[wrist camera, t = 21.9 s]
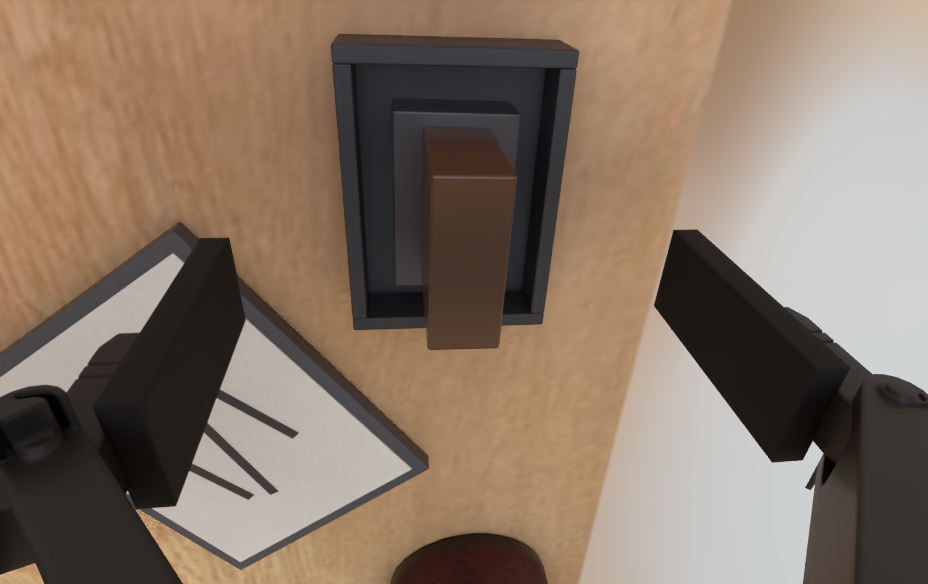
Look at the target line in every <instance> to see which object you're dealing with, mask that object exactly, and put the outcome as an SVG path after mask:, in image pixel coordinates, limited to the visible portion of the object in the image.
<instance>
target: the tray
mask: <svg viewBox="0 0 928 584" xmlns="http://www.w3.org/2000/svg"><path fill="white" fill-rule="evenodd" d="M331 52H332V62H333V78H334V90H335V103H336V115H337V128H338V140H339V153H340V165H341V178H342V190H343V203H344V215H345V228H346V240H347V252H348V265H349V277H350V290H351V302H352V315H353V327H354V330H372V329H405V328H426V325H425V314H424V302H423V290H422V285H414V286H396V285H395V244H394V173H393V99H394V98H404V99H437V100H470V101H504V102H511V103H512V104H513V106H514V107H515V108H516V109H517V111H518V112H519V113H520V115H521V120H520V129H519V139H518V149H517V158H516V168H515V175H516V177H517V182H516V191H515V201H514V210H513V220H512V229H511V238H510V248H509V257H508V267H507V276H506V285H505V295H504V304H503V314H502V323H501V325H534V324H542V322H543V315H544V314H543V313H544V308H545V300H546V293H547V285H548V278H549V271H550V263H551V256H552V248H553V241H554V234H555V226H556V219H557V212H558V204H559V197H560V189H561V182H562V175H563V167H564V160H565V153H566V145H567V138H568V130H569V123H570V116H571V108H572V101H573V93H574V86H575V79H576V68H577V64H578V56H579V51H578V50H577V49H575V48H573V47H571V46H569V45H567V44H565V43H563V42H562V41H560V40H539V39H503V38H467V37H431V36H395V35H359V34H338V35H337V37H336V38H335V40H334V41H333V43H332V44H331Z"/></svg>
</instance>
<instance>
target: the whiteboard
mask: <svg viewBox="0 0 928 584" xmlns="http://www.w3.org/2000/svg"><path fill="white" fill-rule="evenodd" d="M198 241H199V240H198V239H197V238H196V237H195V236H194V235H193V234H192V233H191V232H190V231H189V230H188V229H187V228H185V227H184V226H183V225H182V224H181V223H177V224H176V225H174V226H173V227H172V228H170V229H169V230H168V231H166V232H165V233H163V234H162V235H161V236H159V237H158V238H157V239H155V240H154V241H153V242H151V243H150V244H148V245H147V246H146V247H144V248H143V249H142V250H140V251H139V252H138V253H136V254H135V255H133V256H132V257H131V258H129V259H128V260H127V261H125V262H124V263H123V264H121V265H120V266H119V267H117V268H116V269H114V270H113V271H112V272H110V273H109V274H108V275H106V276H105V277H104V278H102V279H101V280H99V281H98V282H97V283H95V284H94V285H93V286H91V287H90V288H89V289H87V290H86V291H84V292H83V293H82V294H80V295H79V296H78V297H76V298H75V299H74V300H72V301H71V302H69V303H68V304H67V305H65V306H64V307H63V308H61V309H60V310H59V311H57V312H56V313H54V314H53V315H52V316H50V317H49V318H48V319H46V320H45V321H44V322H42V323H41V324H39V325H38V326H37V327H35V328H34V329H33V330H31V331H30V332H29V333H27V334H26V335H24V336H23V337H22V338H20V339H19V340H18V341H16V342H15V343H14V344H12V345H11V346H9V347H8V348H7V349H5V350H4V351H3V352H1V353H0V397H1V396H4V395H6V394H8V393H10V392H12V391H15V390H18V389H22V388H25V387H28V386H37V385H52V386H58V387H60V388H61V389H63V390H64V391H65V392H66V393H67V391H68V390H69V388H70V387H71V386H72V384H73V383H74V381H75V380H76V379H78V378H79V377H78V376H79V374H80V373H81V372H82V370H83V369H84V367H85V366H88V362H89V361H90V359H91V358H92V356H93V355H94V354H95V352H96V351H97V349H98V348H99V347H100V346H102V345H103V344H104V343H106V342H107V341H109V340H110V339H111V338H113V337H114V336H115V335H117V334H118V333H140V332H141V330H142V328H143V327H144V325H145V324H146V322H147V321H148V319H149V318H150V316H151V314H152V313H153V311H154V310H155V308H156V307H157V305H158V303H159V302H160V300H161V299H162V297H163V296H164V294H165V292H166V291H167V289H168V288H169V286H170V285H171V283H172V282H173V280H174V278H175V277H176V275H177V274H178V272H179V271H180V269H181V267H182V266H183V264H184V263H185V261H186V260H187V258H188V257H189V255H190V253H191V252H192V250H193V249H194V247H195V246H196V244H197V242H198ZM237 279H238V284H239V289H240V294H241V299H242V304H243V309H244V314H245V318H246V321H245V324H244V326H243V329H242V332H241V334H240V337H239V340H238V342H237V345H236V348H235V350H234V353H233V356H232V358H231V361H230V364H229V366H228V369H227V372H226V374H225V377H224V380H223V382H222V385H221V388H220V390H219V393H218V396H217V398H216V401H215V404H214V406H213V409H212V412H211V414H210V417H209V420H208V422H207V425H206V428H205V430H204V433H203V436H202V438H201V441H200V444H199V446H198V449H197V452H196V454H195V457H194V460H193V462H192V465H191V468H190V470H189V473H188V476H187V478H186V481H185V484H184V486H183V489H182V492H181V494H180V497H179V500H178V502H177V505H176V506H175V507H161V508H148V509H140V510H141V511H143V512H145V513H146V514H148V515H150V516H151V517H153V518H155V519H156V520H158V521H160V522H161V523H163V524H165V525H166V526H168V527H170V528H171V529H173V530H175V531H176V532H178V533H180V534H181V535H183V536H185V537H186V538H188V539H190V540H191V541H193V542H195V543H197V544H198V545H200V546H202V547H203V548H205V549H207V550H208V551H210V552H212V553H213V554H215V555H217V556H218V557H220V558H222V559H223V560H225V561H227V562H228V563H230V564H232V565H233V566H235V567H237V568H238V569H240V570H242V569H243V568H245V567H247V566H249V565H251V564H253V563H255V562H256V561H258V560H260V559H262V558H264V557H266V556H268V555H269V554H271V553H273V552H275V551H277V550H279V549H281V548H282V547H284V546H286V545H288V544H290V543H292V542H294V541H295V540H297V539H299V538H301V537H303V536H305V535H307V534H308V533H310V532H312V531H314V530H316V529H318V528H320V527H321V526H323V525H325V524H327V523H329V522H331V521H333V520H334V519H336V518H338V517H340V516H342V515H344V514H346V513H347V512H349V511H351V510H353V509H355V508H357V507H359V506H360V505H362V504H364V503H366V502H368V501H370V500H372V499H373V498H375V497H377V496H379V495H381V494H383V493H385V492H386V491H388V490H390V489H392V488H394V487H396V486H398V485H399V484H401V483H403V482H405V481H407V480H409V479H411V478H412V477H414V476H416V475H418V474H420V473H422V472H424V471H425V470H427V469H429V464H428V456H427V455H426V454H424V453H423V452H422V451H421V450H420V449H419V448H418V447H417V446H416V445H415V444H414V443H413V442H412V441H411V440H410V439H409V438H408V437H407V436H405V435H404V434H403V433H402V432H401V431H400V430H399V429H398V428H397V427H396V426H395V425H394V424H393V423H392V422H391V421H390V420H389V419H387V418H386V417H385V416H384V415H383V414H382V413H381V412H380V411H379V410H378V409H377V408H376V407H375V406H374V405H373V404H372V403H371V402H369V401H368V400H367V399H366V398H365V397H364V396H363V395H362V394H361V393H360V392H359V391H358V390H357V389H356V388H355V387H354V386H353V385H352V384H350V383H349V382H348V381H347V380H346V379H345V378H344V377H343V376H342V375H341V374H340V373H339V372H338V371H337V370H336V369H335V368H334V367H332V366H331V365H330V364H329V363H328V362H327V361H326V360H325V359H324V358H323V357H322V356H321V355H320V354H319V353H318V352H317V351H316V350H315V349H313V348H312V347H311V346H310V345H309V344H308V343H307V342H306V341H305V340H304V339H303V338H302V337H301V336H300V335H299V334H298V333H297V332H295V331H294V330H293V329H292V328H291V327H290V326H289V325H288V324H287V323H286V322H285V321H284V320H283V319H282V318H281V317H280V316H279V315H277V314H276V313H275V312H274V311H273V310H272V309H271V308H270V307H269V306H268V305H267V304H266V303H265V302H264V301H263V300H262V299H261V298H260V297H258V296H257V295H256V294H255V293H254V292H253V291H252V290H251V289H250V288H249V287H248V286H247V285H246V284H245V283H244V282H243V281H242V280H240V279H239V278H238V277H237ZM126 496H127V498H128V499H129V501H130V502H131V504H132V505H133V502H132V500H131V497H130V495H129V493H128V491H127V493H126ZM133 506H134V505H133Z"/></svg>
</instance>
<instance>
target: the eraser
mask: <svg viewBox="0 0 928 584" xmlns="http://www.w3.org/2000/svg"><path fill="white" fill-rule="evenodd" d="M520 120H521V115H520V113H519V112H518V111H517V109H516V108H515V107H514V106H513V104H512V103H511V102H504V101H470V100H437V99H404V98H394V99H393V173H394V244H395V285H396V286H414V285H422V290H423V302H424V314H425V325H426V337H427V347H428V349H429V350H442V349H484V348H498V347H499V342H500V333H501V323H502V314H503V304H504V295H505V285H506V276H507V267H508V257H509V248H510V238H511V229H512V220H513V210H514V201H515V191H516V182H517V177H516V175H515V168H516V158H517V149H518V139H519V129H520Z"/></svg>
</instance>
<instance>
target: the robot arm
mask: <svg viewBox="0 0 928 584" xmlns="http://www.w3.org/2000/svg"><path fill="white" fill-rule="evenodd" d="M654 306H655V308H656V309H657V310H658V312H659V313H660V314H661V316H662V317H663V318H664V319H665V321H666V322H667V324H668V325H669V326H670V328H671V329H672V330H673V331H674V333H675V334H676V335H677V337H678V338H679V340H680V341H681V342H682V344H683V345H684V346H685V347H686V349H687V350H688V351H689V353H690V354H691V355H692V357H693V358H694V359H695V361H696V362H697V363H698V365H699V366H700V367H701V369H702V370H703V371H704V373H705V374H706V375H707V377H708V378H709V379H710V380H711V382H712V383H713V384H714V386H715V387H716V389H717V390H718V391H719V392H720V394H721V395H722V396H723V398H724V399H725V400H726V402H727V403H728V404H729V406H730V407H731V408H732V410H733V411H734V412H735V414H736V415H737V416H738V418H739V419H740V420H741V422H742V423H743V424H744V426H745V427H746V428H747V429H748V431H749V432H750V434H751V435H752V436H753V438H754V439H755V440H756V442H757V443H758V444H759V446H760V447H761V448H762V450H763V451H764V452H765V453H766V455H767V456H768V458H769V459H770V460H771V462H784V461H798V460H803V458H804V456H805V455H806V453H807V451H808V448H809V447H810V445H811V443H812V441H814V442H815V443H816V445H817V446H818V447H819V448H820V449H821V451H822V452H823V453H824V454H823V456H822V458H821V460H820V461H819V463H818V465H817V467H816V469H815V471H814V473H813V474H812V476H811V478H810V480H809V482H808V484H807V486H806V487H805V488H807V489H810V490H811V488H812V487H813V486H814V484H815V489H814V498H813V506H812V514H811V522H810V530H809V539H808V547H807V555H806V563H805V571H804V579H803V584H928V394H926V393H925V392H924V391H923V390H922V389H920V388H918V387H917V386H915V385H913V384H912V383H910V382H907V381H905V380H902V379H900V378H897V377H893V376H889V375H884V374H872V373H870V372H869V371H868V370H867V369H866V368H864V367H863V366H862V365H861V364H860V363H859V362H858V361H857V360H855V359H854V358H853V357H852V356H851V355H850V354H849V353H847V352H846V351H845V350H844V349H843V348H842V347H840V346H839V345H838V344H837V343H834V342H833V339H831V338H830V337H829V336H828V335H827V334H825V333H822V330H821V329H820V328H819V327H818V326H816V325H815V324H814V323H813V322H812V321H811V320H810V319H808V318H807V317H805V316H803V315H801V314H799V313H798V312H796V311H794V310H792V309H790V308H788V307H783V306H782V305H781V304H779V303H778V302H777V301H776V300H775V299H774V298H773V297H772V296H771V295H769V294H768V293H767V292H766V291H765V290H764V289H763V288H762V287H761V286H759V285H758V284H757V283H756V282H755V281H754V280H753V279H752V278H751V277H749V276H748V275H747V274H746V273H745V272H743V270H741V269H740V268H739V267H738V266H737V265H736V264H735V263H734V262H733V261H732V260H730V259H729V258H728V257H727V256H726V255H725V254H724V253H723V252H722V251H720V250H719V249H718V248H717V247H716V246H715V245H714V244H713V243H712V242H710V241H709V240H708V239H707V238H706V237H705V236H704V235H703V234H702V233H700V232H699V231H698V230H674V231H673V234H672V238H671V242H670V246H669V250H668V254H667V258H666V261H665V265H664V269H663V273H662V277H661V281H660V285H659V288H658V292H657V296H656V300H655V304H654ZM245 321H246V318H245V314H244V309H243V304H242V299H241V294H240V289H239V284H238V279H237V274H236V269H235V264H234V259H233V254H232V249H231V244H230V240H229V238H200V239H199V241H198V242H197V244H196V246H195V247H194V249H193V250H192V252H191V253H190V255H189V257H188V258H187V260H186V261H185V263H184V264H183V266H182V267H181V269H180V271H179V272H178V274H177V275H176V277H175V278H174V280H173V282H172V283H171V285H170V286H169V288H168V289H167V291H166V292H165V294H164V296H163V297H162V299H161V300H160V302H159V303H158V305H157V307H156V308H155V310H154V311H153V313H152V314H151V316H150V318H149V319H148V321H147V322H146V324H145V325H144V327H143V328H142V330H141V332H140V333H118V334H117V335H115V336H114V337H113V338H111V339H110V340H109V341H107V342H106V343H104V344H103V345H102V346H100V347H99V348H98V349H97V351H96V352H95V354H94V355H93V356H92V358H91V359H90V361H89V362H88V366H85V367H84V369H83V370H82V372H81V373H80V374H79V376H78V377H79V378H78V379H76V380H75V381H74V383H73V384H72V386H71V387H70V388H69V390H68V391H67V393H66V392H65V391H64V390H63V389H61V388H60V387H58V386H52V385H37V386H28V387H25V388H22V389H18V390H15V391H12V392H10V393H8V394H6V395H4V396H1V397H0V575H1V574H3V573H6V572H9V571H12V570H15V569H18V568H21V567H24V566H27V565H30V564H33V563H36V565H37V567H38V570H39V572H40V574H41V577H42V579H43V581H44V584H183V583H182V582H181V580H180V579H179V577H178V576H177V574H176V572H175V571H174V569H173V568H172V566H171V565H170V563H169V562H168V560H167V558H166V557H165V555H164V554H163V552H162V551H161V549H160V548H159V546H158V544H157V543H156V541H155V540H154V538H153V537H152V535H151V534H150V532H149V530H148V529H147V527H146V526H145V524H144V523H143V521H142V520H141V518H140V516H139V515H138V513H137V512H136V510H135V509H148V508H161V507H175V506H176V505H177V502H178V500H179V497H180V494H181V492H182V489H183V486H184V484H185V481H186V478H187V476H188V473H189V470H190V468H191V465H192V462H193V460H194V457H195V454H196V452H197V449H198V446H199V444H200V441H201V438H202V436H203V433H204V430H205V428H206V425H207V422H208V420H209V417H210V414H211V412H212V409H213V406H214V404H215V401H216V398H217V396H218V393H219V390H220V388H221V385H222V382H223V380H224V377H225V374H226V372H227V369H228V366H229V364H230V361H231V358H232V356H233V353H234V350H235V348H236V345H237V342H238V340H239V337H240V334H241V332H242V329H243V326H244V324H245ZM127 491H128V493H129V495H130V497H131V500H132V502H133V505H134V507H135V509H134V507H133V506H132V504H131V502H130V501H129V499H128V498H127V496H126V493H127Z"/></svg>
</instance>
